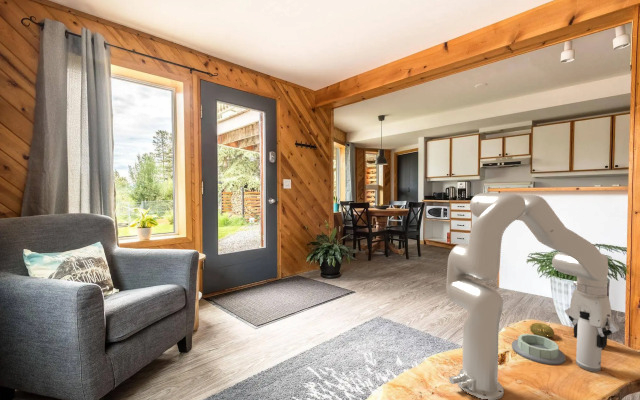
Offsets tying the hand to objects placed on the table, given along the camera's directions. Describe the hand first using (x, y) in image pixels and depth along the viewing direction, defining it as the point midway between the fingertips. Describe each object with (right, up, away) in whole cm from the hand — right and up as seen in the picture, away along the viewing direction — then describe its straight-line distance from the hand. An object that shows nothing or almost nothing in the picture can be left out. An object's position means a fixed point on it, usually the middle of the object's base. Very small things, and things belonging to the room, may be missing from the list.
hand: (589, 341), depth 103 cm
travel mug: (0, -9, 0) cm, 9 cm away
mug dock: (-11, -9, +10) cm, 17 cm away
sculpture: (+1, -8, +23) cm, 25 cm away
